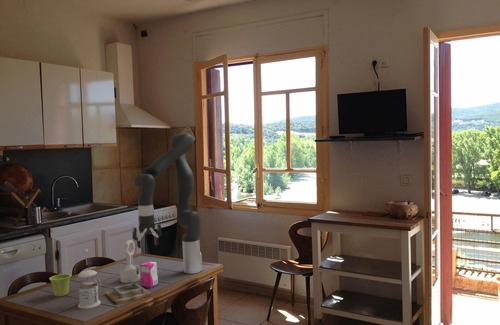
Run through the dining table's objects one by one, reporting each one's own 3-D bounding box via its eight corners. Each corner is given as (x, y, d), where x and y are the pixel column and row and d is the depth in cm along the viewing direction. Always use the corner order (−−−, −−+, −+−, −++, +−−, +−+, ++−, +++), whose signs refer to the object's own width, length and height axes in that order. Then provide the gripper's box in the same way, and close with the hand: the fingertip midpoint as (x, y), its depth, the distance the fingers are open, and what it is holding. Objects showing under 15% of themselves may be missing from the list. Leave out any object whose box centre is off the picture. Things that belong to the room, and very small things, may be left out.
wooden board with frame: (138, 286, 211) (138, 280, 211) (150, 295, 198) (150, 288, 198) (106, 294, 202) (105, 287, 202) (116, 304, 189) (116, 296, 189)
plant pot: (51, 293, 207) (49, 275, 207) (71, 289, 211) (70, 272, 211) (50, 299, 199) (49, 281, 198) (72, 295, 203) (71, 277, 202)
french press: (88, 299, 197) (85, 245, 196) (108, 301, 193) (105, 247, 192) (72, 306, 188) (69, 251, 187) (93, 309, 184) (89, 252, 182)
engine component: (116, 282, 220) (134, 282, 218) (114, 243, 219) (132, 243, 217) (127, 275, 230) (144, 276, 228) (124, 238, 229) (142, 238, 227)
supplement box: (149, 283, 216) (147, 261, 216) (158, 284, 214) (157, 262, 213) (141, 287, 211) (140, 264, 210) (151, 288, 208) (149, 265, 208)
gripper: (156, 211, 218) (158, 242, 218) (129, 215, 210) (131, 247, 210) (162, 213, 212) (164, 245, 212) (134, 216, 204) (136, 250, 204)
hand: (147, 246), depth 211 cm, fingers open, 8 cm apart
